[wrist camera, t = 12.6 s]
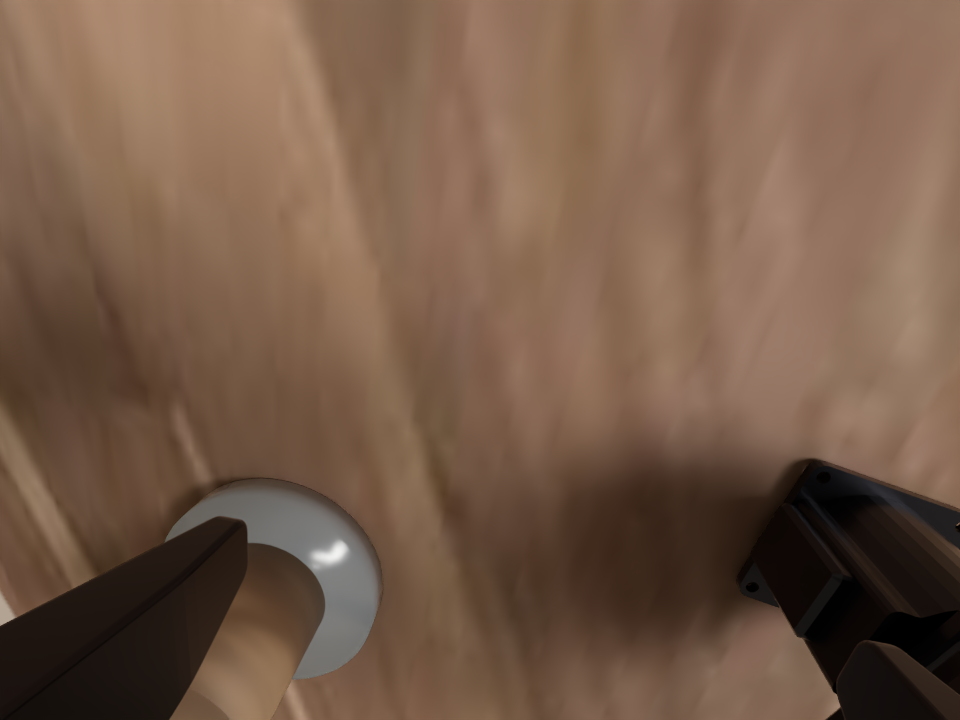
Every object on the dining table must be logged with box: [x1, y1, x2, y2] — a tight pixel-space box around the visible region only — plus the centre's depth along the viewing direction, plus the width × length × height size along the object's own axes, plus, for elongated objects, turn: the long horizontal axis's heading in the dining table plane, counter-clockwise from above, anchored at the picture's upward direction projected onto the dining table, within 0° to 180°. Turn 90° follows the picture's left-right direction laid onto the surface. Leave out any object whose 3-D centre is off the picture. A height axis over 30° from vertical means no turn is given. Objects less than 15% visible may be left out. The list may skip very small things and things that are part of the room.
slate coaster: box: [165, 478, 383, 679], centre depth 24 cm, size 10×10×2 cm
